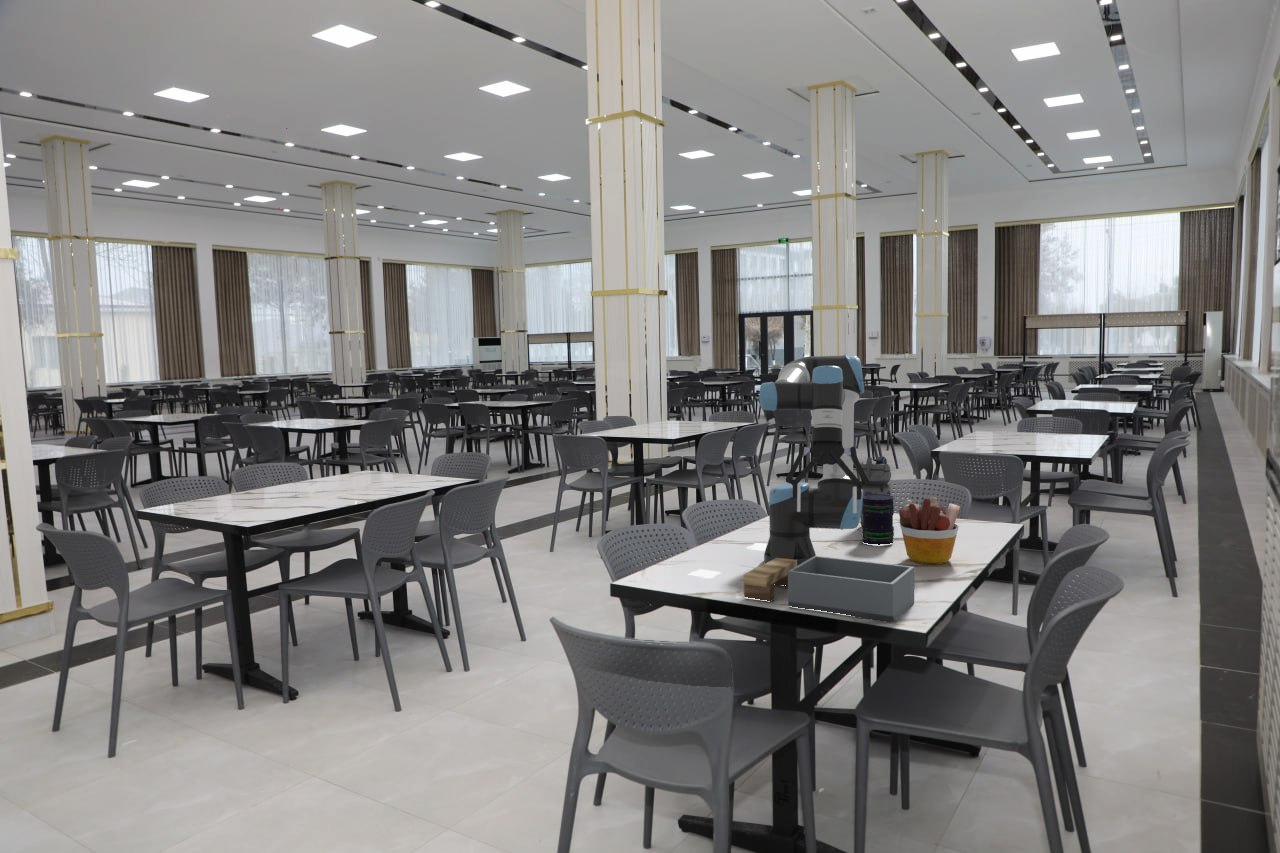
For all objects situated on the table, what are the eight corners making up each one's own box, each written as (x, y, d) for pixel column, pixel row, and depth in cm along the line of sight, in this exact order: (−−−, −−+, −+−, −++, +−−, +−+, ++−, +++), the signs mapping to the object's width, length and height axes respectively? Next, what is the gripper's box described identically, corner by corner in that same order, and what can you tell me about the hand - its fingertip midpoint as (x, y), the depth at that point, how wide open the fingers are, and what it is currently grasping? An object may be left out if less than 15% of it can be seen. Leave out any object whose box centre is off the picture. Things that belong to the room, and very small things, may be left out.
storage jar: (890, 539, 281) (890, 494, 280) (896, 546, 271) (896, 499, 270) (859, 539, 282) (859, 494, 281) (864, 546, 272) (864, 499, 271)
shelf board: (765, 587, 214) (765, 577, 214) (744, 584, 217) (743, 574, 217) (797, 569, 231) (797, 560, 231) (776, 566, 234) (776, 557, 234)
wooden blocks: (769, 602, 215) (769, 586, 215) (744, 598, 219) (743, 583, 218) (797, 585, 230) (797, 570, 230) (773, 581, 234) (773, 567, 233)
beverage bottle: (898, 525, 303) (898, 454, 301) (882, 532, 293) (881, 458, 291) (871, 522, 309) (871, 453, 307) (854, 528, 299) (854, 457, 297)
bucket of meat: (904, 551, 265) (904, 486, 263) (961, 554, 258) (961, 489, 256) (894, 566, 247) (894, 497, 245) (955, 571, 240) (956, 500, 238)
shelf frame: (788, 607, 210) (787, 571, 210) (814, 589, 225) (814, 555, 224) (893, 622, 196) (893, 584, 196) (914, 602, 211) (914, 566, 210)
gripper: (776, 425, 215) (775, 510, 213) (879, 426, 211) (880, 513, 208) (776, 428, 222) (775, 511, 220) (876, 429, 218) (876, 514, 216)
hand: (826, 512), depth 214 cm, fingers open, 13 cm apart
